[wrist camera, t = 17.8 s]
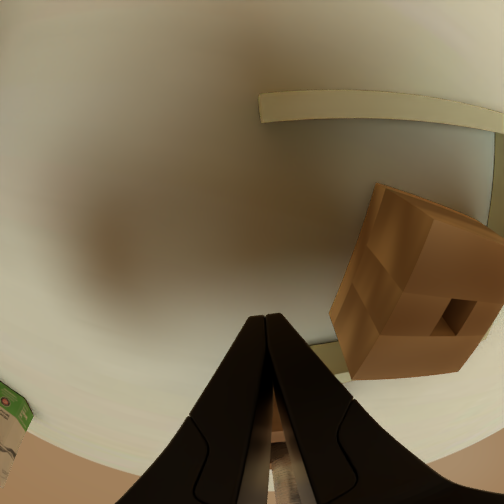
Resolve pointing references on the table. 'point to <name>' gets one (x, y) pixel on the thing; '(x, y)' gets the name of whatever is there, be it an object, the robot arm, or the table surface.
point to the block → (417, 289)
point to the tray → (387, 107)
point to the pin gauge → (283, 475)
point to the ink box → (11, 427)
